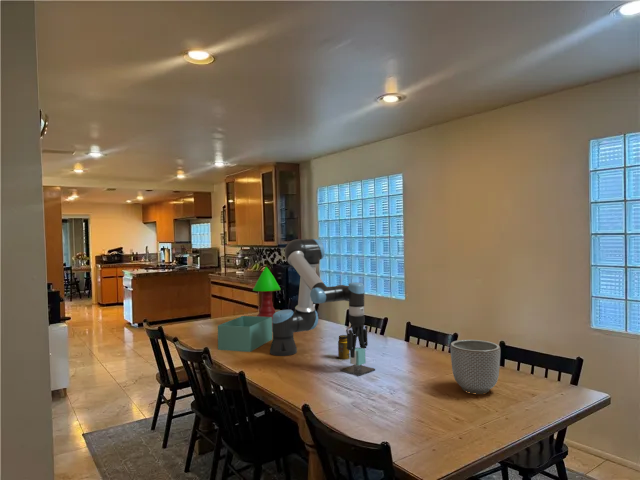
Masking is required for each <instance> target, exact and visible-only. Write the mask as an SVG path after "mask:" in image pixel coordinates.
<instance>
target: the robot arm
mask: <svg viewBox="0 0 640 480" xmlns="http://www.w3.org/2000/svg"><path fill="white" fill-rule="evenodd" d="M325 251H326V250H325V246H324V244H323V242H322V241H321V240H320V239H318V238H317V239H316V238H315V239H314V238H305V239H303V238H300V239H299V238H298V239H293V240H291V241H289V242H288V243H287V244H286V246H285V247H284V258H285V260H286V262H287V263H288V265H290V266H292V267H293V268H294V269H295V271H296V272H297V274H298V275H299V276H300V277H299V278H300V279H299V289H298V301H297V305H296V306H295V307H294V310H292V309H282V310H278V311H275V313H274V314H273V320H272V322H273V332H272V340H271V341H272V342H271V345H270V348H269V354H271V356H276V357H277V356H280V357H283V356H287V357H288V356H292V355H295V354H297V352H298V349H297V345H296V341H295V339H294V334H295V333H301V332H308V331H311V330H314V329H315V328H317V326H318V323H319V316H318V312H317V310H316V307H315V306H314V304H324V303H332V302H342V301H343V302H344V301H345V302H348V314H349V316H348V319H349V320H348V323H349V324H350V326H349V327H350V328H347V329H346V335H347V350H350V352H349V353H350V356H351V365H354V364H355V365H356V351H355V348H357V346H356V344H357V339H358V343H359V348H362V349H365V350H366V349H367V346H369V345H368V343H369V342H368V326H367V325H365V322H366V321H365V320H366V319H365V317H366V315H365V286H364V285H365V284H364V283H363V282H349V283H348V285H345V284H337V285H334V286H327V285H326V284H325V283H324V282H323V280H322V279H321V278H320V276H319V275H318V274H317V266H318V265H320V260H322V259H324V257H325V254H326V253H325Z"/></svg>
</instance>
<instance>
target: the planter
mask: <svg viewBox="0 0 640 480" xmlns="http://www.w3.org/2000/svg"><path fill="white" fill-rule="evenodd" d="M449 350H450V358H451V359H450V361H451V362H450V363H451V369H452V370H451V371H452V375H453V377H454V380H455V382H456V383H457V384H458V386H459V387H461V389H462V391H463V392H465V391H467V392H470V393H476V394H475V395H477V394H482V395H484V394H483V393H487V392H488V393H489V392H490V390H491V389H493V387H495V386H496V384H497V383H498V379H499V376H500V366H501V347H500V345H499V344H497V343H495V342H491V341H487V340H479V339H460V340H458V339H457V340H454V341H452V342H451V343H450V348H449ZM467 392H466V393H467ZM470 393H469V394H470ZM488 393H487V394H488Z"/></svg>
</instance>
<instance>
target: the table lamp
mask: <svg viewBox="0 0 640 480" xmlns="http://www.w3.org/2000/svg"><path fill="white" fill-rule="evenodd" d="M252 291H253V292H256V293H257V292H258V293H259V292H261V305H260V306H261V307H260V308H259V312H258V314H257V315H256V316H258V317H272V320H273V314H274V313H275V312H276V309H275V307H274V306H273V305H274V304H273V303H274V302H273V292H278V291H281V287H280V285H279V283H278V282H277V280H276V278H275V276H274V275H273V274H272V272H271V270H270V269H269V268H268V267H267V266H265V267H264V269H263V271H262V272H261V274H260V275H259V277H258V279H257V281H256V283H255V285H254V287H253V288H252ZM272 333H273V322H272Z"/></svg>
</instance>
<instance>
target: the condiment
mask: <svg viewBox="0 0 640 480" xmlns="http://www.w3.org/2000/svg"><path fill="white" fill-rule="evenodd" d="M337 342H338V343H337V345H338V346H337V352H338V354H337V355H338V356H334V357H332V359H334V360H336V361H340V362H342V361H347V360H348V361H349V360H350V350H347V334H342V335H338V341H337Z"/></svg>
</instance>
